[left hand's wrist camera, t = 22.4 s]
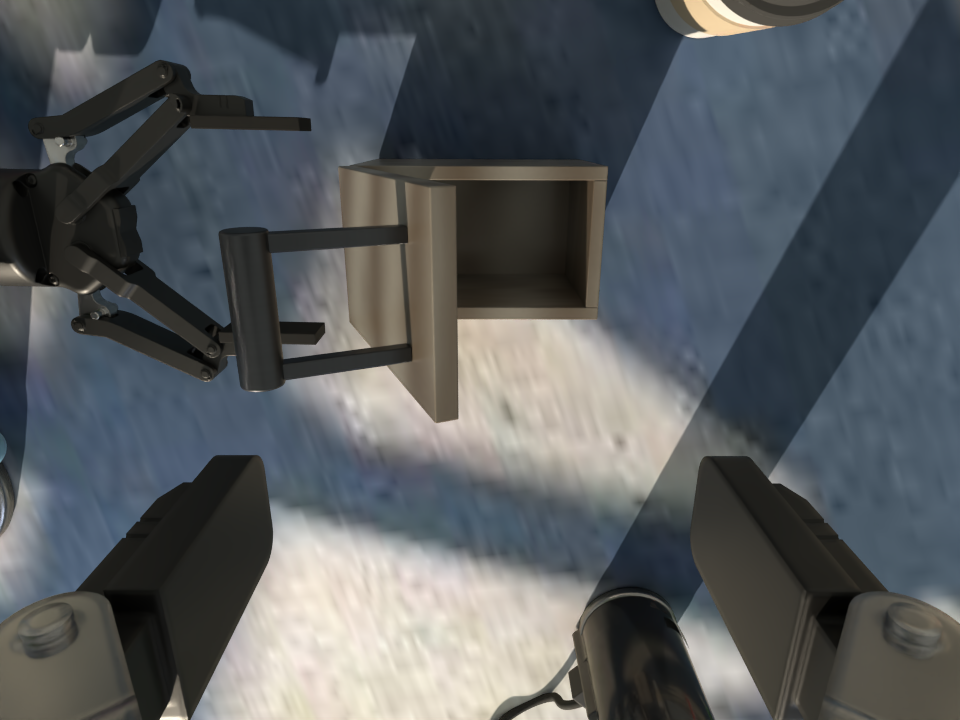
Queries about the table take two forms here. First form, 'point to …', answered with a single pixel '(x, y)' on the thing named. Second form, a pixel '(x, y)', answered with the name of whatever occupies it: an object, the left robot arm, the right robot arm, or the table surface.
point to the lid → (362, 288)
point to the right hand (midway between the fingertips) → (313, 235)
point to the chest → (522, 233)
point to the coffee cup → (737, 15)
